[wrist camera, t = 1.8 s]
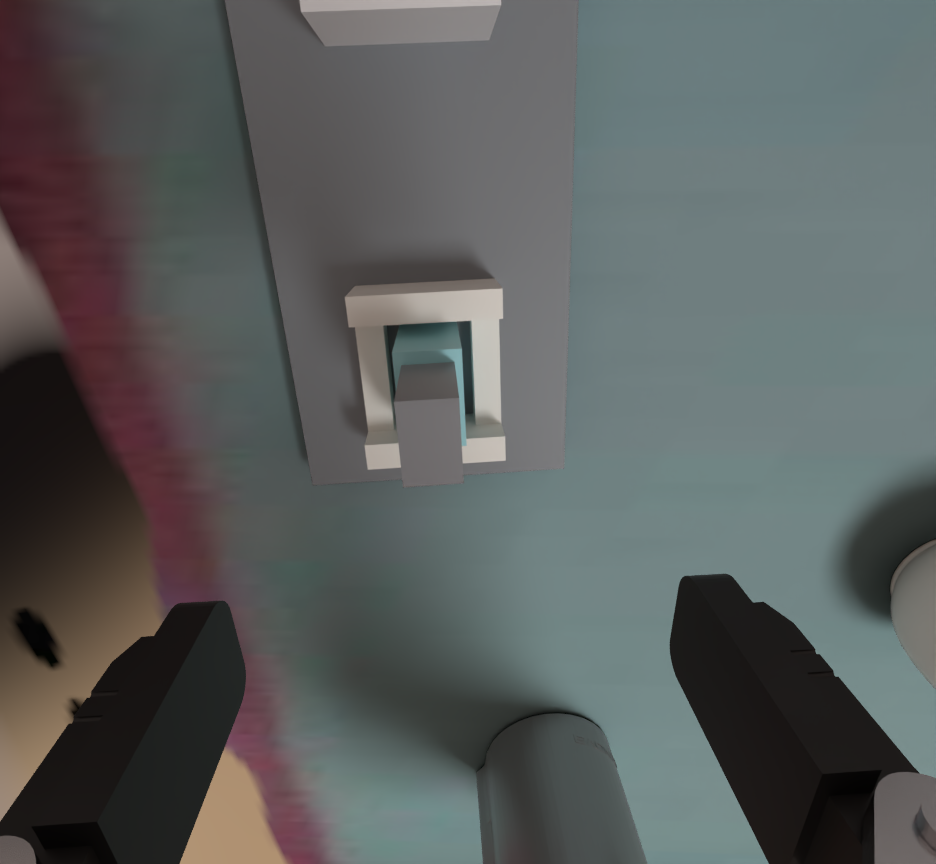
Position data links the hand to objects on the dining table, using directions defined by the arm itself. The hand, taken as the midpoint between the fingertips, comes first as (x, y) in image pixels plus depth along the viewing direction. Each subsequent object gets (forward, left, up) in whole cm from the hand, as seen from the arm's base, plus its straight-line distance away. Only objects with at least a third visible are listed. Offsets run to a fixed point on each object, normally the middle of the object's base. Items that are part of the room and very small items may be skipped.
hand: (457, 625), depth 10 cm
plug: (0, 0, -17) cm, 17 cm away
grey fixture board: (+5, +6, -19) cm, 21 cm away
